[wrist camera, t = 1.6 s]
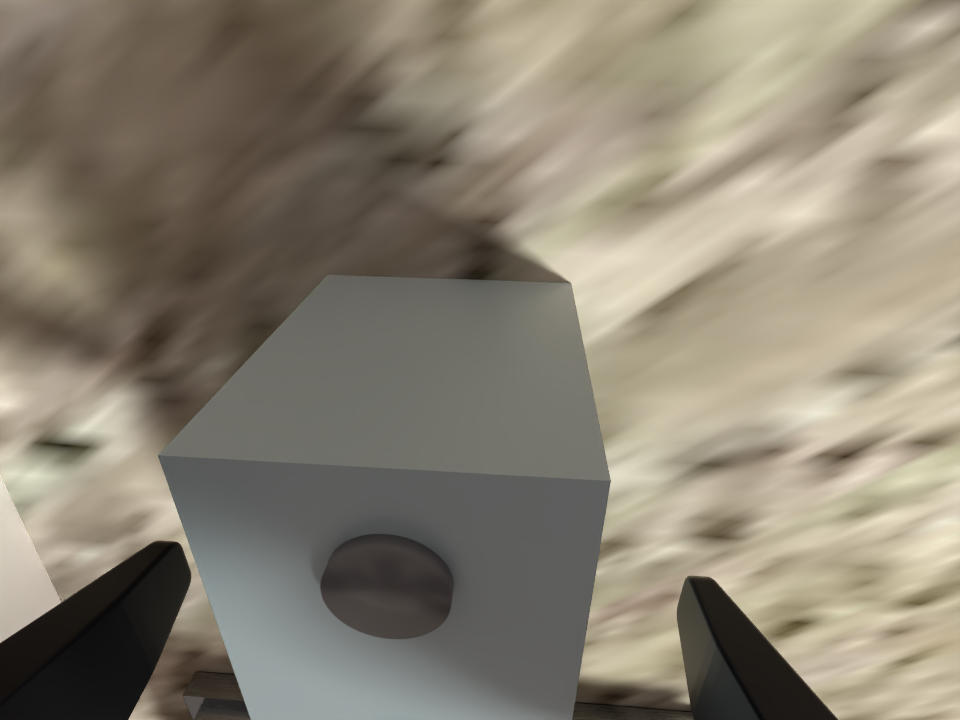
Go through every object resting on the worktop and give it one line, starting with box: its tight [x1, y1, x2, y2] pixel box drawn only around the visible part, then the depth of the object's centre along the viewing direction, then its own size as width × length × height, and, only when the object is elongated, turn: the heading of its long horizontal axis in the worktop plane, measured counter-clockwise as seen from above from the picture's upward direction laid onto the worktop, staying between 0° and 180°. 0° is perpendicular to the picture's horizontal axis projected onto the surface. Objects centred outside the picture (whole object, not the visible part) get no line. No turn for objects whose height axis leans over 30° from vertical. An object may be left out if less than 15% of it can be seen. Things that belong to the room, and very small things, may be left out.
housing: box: [158, 275, 611, 720], centre depth 10 cm, size 5×8×6 cm, turn 0°
